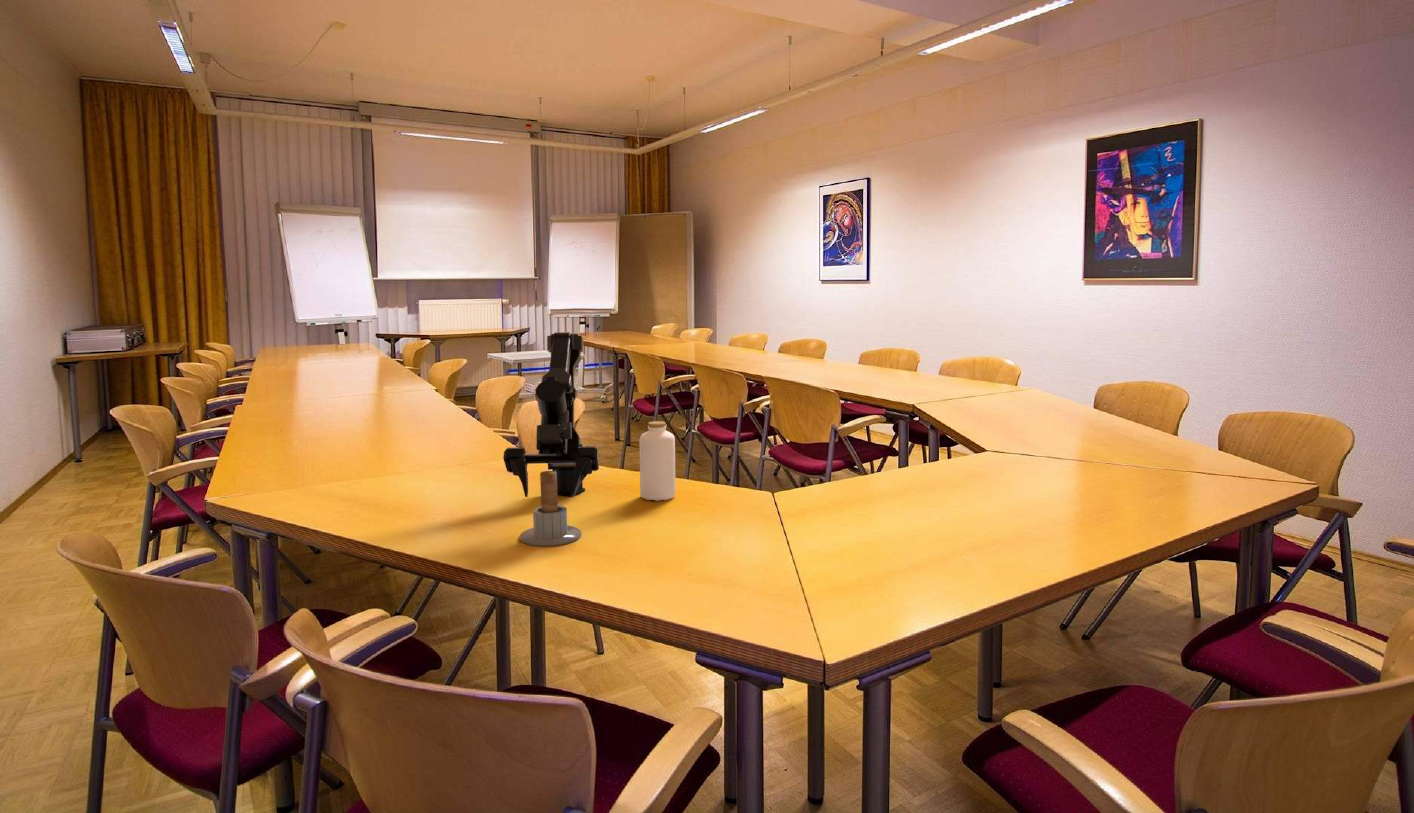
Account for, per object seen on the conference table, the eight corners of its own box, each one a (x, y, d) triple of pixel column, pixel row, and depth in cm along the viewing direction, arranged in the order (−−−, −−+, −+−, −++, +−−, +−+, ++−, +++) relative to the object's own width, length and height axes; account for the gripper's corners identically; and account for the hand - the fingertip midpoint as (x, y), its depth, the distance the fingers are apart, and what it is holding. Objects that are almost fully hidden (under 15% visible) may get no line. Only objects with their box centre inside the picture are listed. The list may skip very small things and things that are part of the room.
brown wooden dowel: (540, 533, 155) (537, 472, 153) (554, 530, 157) (552, 470, 155) (546, 537, 152) (543, 475, 150) (561, 534, 154) (559, 473, 152)
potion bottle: (633, 499, 182) (632, 423, 179) (652, 491, 189) (651, 418, 186) (663, 503, 178) (663, 426, 175) (681, 495, 185) (681, 421, 183)
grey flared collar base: (507, 540, 152) (505, 513, 151) (546, 524, 163) (545, 498, 162) (556, 550, 147) (555, 521, 146) (593, 532, 157) (592, 505, 156)
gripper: (502, 408, 155) (494, 475, 146) (596, 407, 157) (594, 473, 148) (511, 439, 164) (504, 504, 155) (599, 437, 166) (597, 502, 157)
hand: (549, 495), depth 153 cm, fingers open, 9 cm apart
